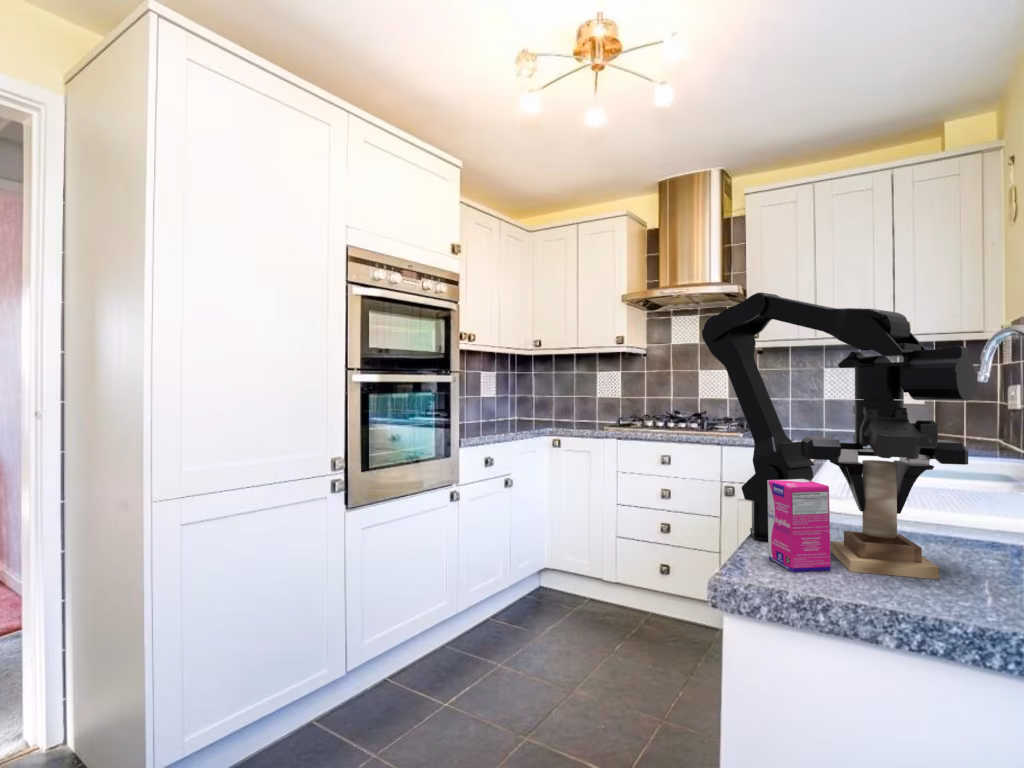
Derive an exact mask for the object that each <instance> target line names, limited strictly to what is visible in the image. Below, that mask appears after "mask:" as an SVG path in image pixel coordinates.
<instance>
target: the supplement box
mask: <svg viewBox="0 0 1024 768" xmlns="http://www.w3.org/2000/svg"><path fill="white" fill-rule="evenodd" d="M767 484H768V559H769V560H770V561H771V562H774V563H776V564H778V565H779V566H781V567H783V568H785V569H786V570H788V571H790V572H792V573H799V572H800V573H803V572H805V573H806V572H807V573H808V572H831V571H832V569H831V568H832V565H831V561H832V560H831V527H830V525H831V524H830V523H831V522H830V520H831V519H830V518H831V517H830V487H829V485H827V484H823V483H819V482H816V481H812V480H811V481H809V480H805V479H792V480H768V481H767Z"/></svg>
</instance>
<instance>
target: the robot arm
mask: <svg viewBox="0 0 1024 768" xmlns="http://www.w3.org/2000/svg"><path fill="white" fill-rule="evenodd" d="M772 320H775V321H779V322H782V323H787V324H791V325H795V326H799V327H803V328H807V329H811V330H816V331H820V332H823V333H825V334H828V335H830V336H832V337H834V339H836V340H837V341H840V342H842V343H844V344H847V345H848V346H850V347H853V348H855V349H857V350H860V351H871V352H876V353H878V354H880V355H868V356H867V355H863V354H862V352H860V351H850V352H849V354H848V355H847V356H846V357H845V358H843V359H842V360H841V361H840V362H839V363H838V364H837V365H838V367H839V368H840V369H854V406H852V408H853V409H852V413H853V414H854V434H853V438H852V439H853V442H840V439H837V438H835V437H831V436H830V437H829V436H805V437H804V438H803V439H802V440H801V441H793V440H791V438H790V437H788V435H786V433H785V430H784V428H783V426H782V424H781V421H780V418H779V416H778V414H777V411H776V409H775V406H774V404H773V402H772V401H773V400H772V399H771V397H770V395H769V391H768V389H767V387H766V385H765V382H764V380H763V378H762V376H761V372H760V370H759V368H758V366H757V363H756V361H755V357H754V356H755V350H756V345H757V344H756V336H757V335H758V334H760V333H762V331H764V330H765V328H766V327H767V325H769V324H770V322H771V321H772ZM701 336H702V340H703V342H704V344H705V345H706V347H707V349H708V351H709V353H710V354H711V355H712V356H713V357H714V358H715V360H717V361H718V362H719V363H720V364H721V365H723V366H724V368H725V371H726V373H727V375H728V378H729V382H730V383H731V386H732V388H733V391H734V395H736V396H735V397H736V399H737V401H738V403H739V406H740V409H741V412H742V414H743V416H744V419H745V422H746V424H747V426H748V429H749V432H750V434H751V437H752V440H753V443H754V447H753V448H754V449H753V453H752V454H753V457H752V464H753V469H754V474H753V475H752V476H751V477H750V478H749V479H748V480H747V481H746V482H745V483H744V484H743V485H741V491H742V495H743V498H744V499H745V500H744V501H751V527H750V528H749V531H750V534H751V533H752V532H753V531H754V532H753V533H752V534H751V536H752V538H753V539H754V540H756V541H765V542H767V541H768V484H767V481H768V480H792V479H805V480H809V481H812V480H813V479H814V471H813V468H812V467H813V466H815V463H814V462H813V461H812V460H821V461H822V460H823V461H827V460H828V461H829V463H831V464H833V465H836V466H838V467H839V469H840V472H841V473H842V475H843V476H844V478H845V480H846V482H847V485H848V486H849V489H850V491H851V493H852V496H853V499H854V501H855V503H856V506H857V508H858V511H860V512H861V513H863V512H864V508H865V498H864V489H863V479H862V471H863V465H864V464H862V462H860V461H859V456H860V457H879V458H881V459H891V458H899V459H898V460H895V459H894V460H893V462H896V463H897V515H899V514H901V513H902V511H903V509H904V508H905V507H904V506H905V504H906V502H907V500H908V497H909V495H910V493H911V490H912V488H913V486H914V484H915V482H916V481H917V480H918V479H919V477H920V476H921V475H922V474H923V473H924V472H926V471H933V470H934V468H935V466H934V465H931V464H930V461H931V460H936V461H937V462H938V463H939V464H942V465H960V466H961V465H967V466H968V465H969V450H968V448H967V446H966V445H964V443H963V442H959V441H958V442H957V441H955V440H947V439H939V427H938V423H937V422H935V420H925V419H924V420H919V419H918V420H916V421H915V422H910V420H909V417H908V416H909V414H908V410H907V409H908V408H907V407H905V405H904V404H905V403H904V402H905V400H904V399H905V393H906V394H907V393H908V395H909V396H910V398H912V399H913V400H915V401H942V402H943V401H945V402H947V401H948V402H949V401H952V402H953V401H954V402H955V401H957V402H969V401H971V400H972V398H974V395H976V394H975V393H976V390H977V386H978V385H977V384H978V373H977V372H975V366H974V363H973V362H972V360H971V358H970V357H969V348H968V347H966V346H960V345H959V346H947V347H944V348H943V347H942V348H937V349H928V348H927V349H926V347H925V346H924V345H923V344H922V343H921V342H920V341H919V340H918V338H917V337H916V336H915V335H914V334H913V333H912V332H911V326H910V323H909V320H908V318H907V317H906V316H905V315H903V314H902V313H899V312H896V311H890V310H882V309H877V308H860V307H859V308H858V307H857V308H856V307H855V308H854V307H852V308H850V307H849V308H836V307H830V306H825V305H820V304H815V303H810V302H805V301H800V300H795V299H790V298H787V297H781V296H779V295H777V294H776V293H775V294H773V293H767V292H756V293H754V294H752V295H750V296H749V297H748V298H745V300H742V302H739V303H737V304H734V305H732V306H730V307H729V308H726V309H724V310H722V311H720V312H719V314H715V315H712V316H710V317H709V318H708V319H707V320H706V321H705V324H704V325H703V328H702V330H701ZM889 357H895V358H896V357H897V358H903V361H896V362H893V361H892V362H891V360H890V359H889ZM869 446H870V447H869Z"/></svg>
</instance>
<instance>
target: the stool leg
mask: <svg viewBox="0 0 1024 768" xmlns="http://www.w3.org/2000/svg"><path fill="white" fill-rule="evenodd" d="M861 463H862V464H864V465H863V471H862V479H863V489H864V498H865V508H864V512H862V532H863V533H864V534H867V535H871V536H876V537H884V538H894V537H897V534H898V514H897V463H896V462H894V461H890V460H889V461H888V460H876V459H866V460H865V459H863V460H861Z"/></svg>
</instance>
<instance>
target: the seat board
mask: <svg viewBox="0 0 1024 768" xmlns="http://www.w3.org/2000/svg"><path fill="white" fill-rule="evenodd" d="M830 553H832V554H833V556H835V557H836V558H837V560H839V561H840V563H841V564H843V566H844V567H845V568H846V569H847V570H848V572H850V573H862V574H875V575H884V576H885V575H886V576H898V577H910V578H919V579H921V578H922V579H933V580H940V567H939V566H938V565H937V564H935V563H933V562H932V561H930V560H929V559H927V558H926V557H924V556H923V555H922V554H923V553H922V547H921V546H919V545H918V544H916V543H914V542H913V541H912V540H910V539H909V538H907V537H905V536H904V535H903V534H900V533H897V537H894V538H884V537H876V536H871V535H867V534H864V533H863V531H854V530H843V541H838V540H837V541H836V540H835V541H834V540H830Z"/></svg>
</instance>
